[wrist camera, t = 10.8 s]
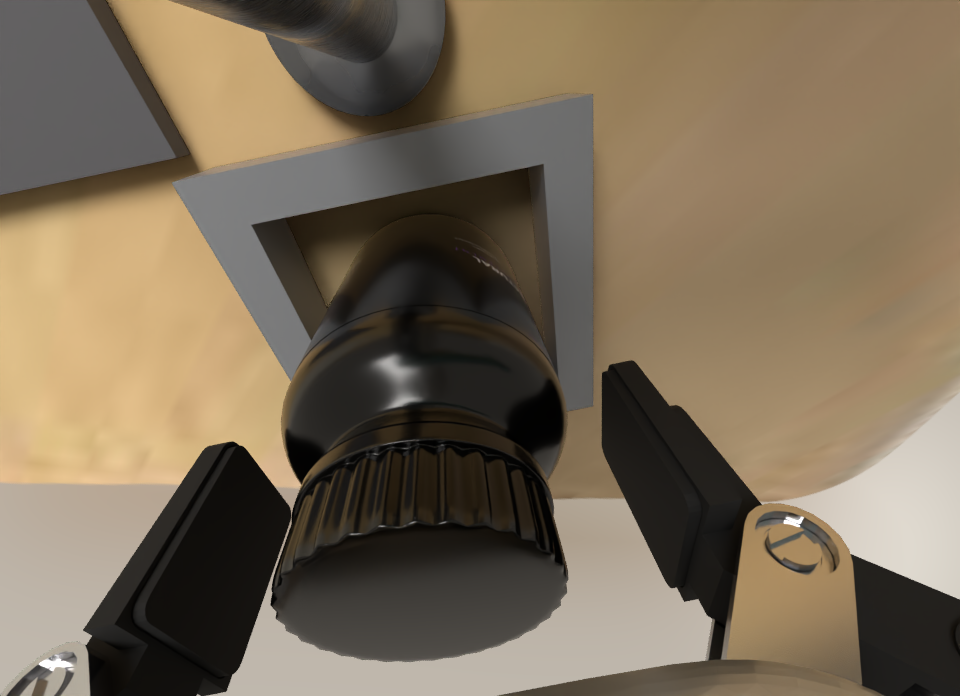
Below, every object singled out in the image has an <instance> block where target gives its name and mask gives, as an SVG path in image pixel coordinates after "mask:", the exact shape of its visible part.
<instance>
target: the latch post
mask: <svg viewBox="0 0 960 696" xmlns="http://www.w3.org/2000/svg"><path fill="white" fill-rule="evenodd" d="M169 1H172V2H175V3H178V4H181V5H184V6H187V7H190V8H193V9H196V10H199V11H202V12H205V13H208V14H211V15H214V16H217V17H220V18H223V19H226V20H228V21H231V22H234V23H237V24H240V25H243V26H246V27H249V28H252V29H255V30H258V31H261V32H264V33H265V34H266V37H267V39H268V41H269V43H270V45H271V47H272V48H273V50H274V52H275V54H276V56H277V57H278V59H279V60H280V62H281V63H282V64H283V66H284V67H285V69H286V70H287V71H288V72H289V74H290V75H291V76H292V77H293V78H294V80H295V81H296V82H297V83H298V84H299V85H300V86H302V87H303V88H304V89H305V90H306V91H307V92H308V93H310V94H311V95H312V96H313V97H315V98H316V99H318V100H319V101H321V102H322V103H324V104H326V105H327V106H330V107H332V108H334V109H336V110H338V111H342V112H345V113H348V114H353V115H359V116H375V115H382V114H386V113H389V112H392V111H394V110H396V109H399V108H401V107H403V106H404V105H406V104H407V103H409V102H410V101H411V100H413V99H414V98H415V97H416V96H417V95H418V94H419V93H420V92H421V91H422V89H423V88H424V87H425V86H426V84H427V83H428V81H429V79H430V78H431V76H432V74H433V72H434V70H435V67H436V65H437V63H438V59H439V56H440V53H441V49H442V43H443V38H444V30H445V0H169Z"/></svg>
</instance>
